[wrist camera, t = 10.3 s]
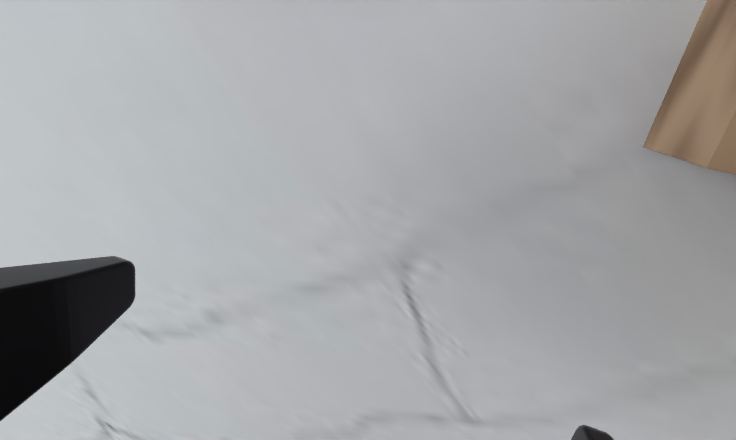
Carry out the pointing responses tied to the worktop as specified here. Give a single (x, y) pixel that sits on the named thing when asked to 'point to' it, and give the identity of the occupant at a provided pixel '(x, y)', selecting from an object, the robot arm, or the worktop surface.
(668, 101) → the walnut block
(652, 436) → the worktop surface
